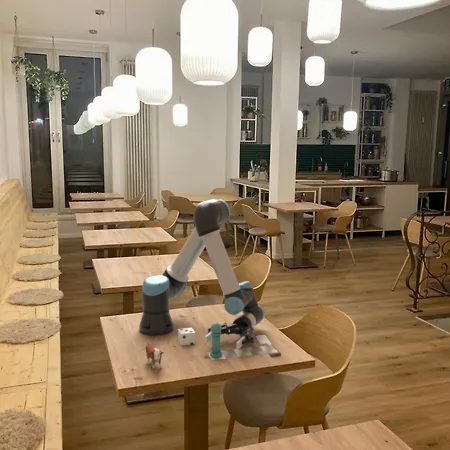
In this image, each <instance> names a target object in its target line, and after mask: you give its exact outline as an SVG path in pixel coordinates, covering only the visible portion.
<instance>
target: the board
mask: <svg viewBox="0 0 450 450" xmlns="http://www.w3.org/2000/svg"><path fill="white" fill-rule="evenodd" d="M220 351H221V352H222V356H221V357H219V358H213V357H211V356H210V352H211V351H208V352H206V353H207V355H208V356H209V357H210V360H212V361H218V360H225V359H227V360H228V359H234V358H243V357H251V356H258V355H266V354H267V355H269V357H271V358H272V357H279V356H282V355H281V353H282V352H280V351H279V350H278V349H277V348H276V347H275V345H273V344H272V345H267V344H265V345H260V346H258V345H257V346H251V347H250V346H249V347H242V348H241V347H240V348H239V349H236V348H232V349H224V350H220Z"/></svg>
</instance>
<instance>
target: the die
mask: <svg viewBox="0 0 450 450" xmlns="http://www.w3.org/2000/svg"><path fill="white" fill-rule="evenodd" d="M177 341H178V343H179V345H180V346H188V345H196V332H195V330H194V328H193V327H185V328H177Z"/></svg>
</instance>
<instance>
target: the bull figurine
mask: <svg viewBox="0 0 450 450" xmlns="http://www.w3.org/2000/svg"><path fill="white" fill-rule="evenodd" d="M145 353H146V354H145V355H146V359H147V365H151V362H152V370H155V368H156V367H155V364H159V365H158V369H159V370H162V369H163V367H162V355H163V354H164V351H161V350H160V349H159V348H158V347H156V345H154V344H152V343H150V342H148V343H147V345H145ZM150 359H151V361H150Z"/></svg>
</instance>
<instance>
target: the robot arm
mask: <svg viewBox="0 0 450 450" xmlns="http://www.w3.org/2000/svg"><path fill="white" fill-rule="evenodd" d="M231 214H232V213H231V209H230V206H229V204H228V203H227V201H225V200H223V199H221V198H212V199H209V200H205V201H202V202H199V203H198V204H197V206H196V207H195V209H194V211H193V216H192V217H193V224H194V228H193V229H192V231H191V232H190V235H189V236H188V237H187V239H186V241H185V243H184V245H182V248H181V249H180V251H179V252H178V253H177V256H176V258H175V259H174V260H173V263H172V265H167V267H166V269H165V270H164V271H163V274H162V275H160V274H159V275H158V274H157V275H153V276H149V277H148V276H147V278H145V279H144V280H143V282H142V287H141V288H142V315H141V318H140V323H139V326H138V327H139V331H140V333H142V334H144V335H148V336H162V335H165V334H168V333H171V332H173V330H174V321H173V318H172V316H171V313H170V301H172V300H174V299H175V298H178V297H179V296H180V295H182V294H183V293H184V292H185V290H186V289H187V286H188V285H187V283H188V281H189V274H190V272H191V270H192V269H193V267H194V265H195V263H196V262H197V260H198V259H199V258H200V256H201V255H202V252H203V251H204V249H206V253H207V255H208V258H209V260H210V263H211V265H212V267H213V270H214V272H215V275H216V278H217V280H218V283H219V285H220V288H221V290H222V293H223V296H224V298H225V302H224V310H225V311H226V312H227V313H228V314H229V315H232V316H234V315H235V316H236V315H238V314H239V313H241V312H242V314H240V315H239V316H238V317H236V319H234V320H233V322H232V323H230V324H228V323H227V322H223V323H220V325H221V327H222V330H221V335H225V334H227V335H237V336H238V335H239V336H240V337H241V338H240V339H238V341H236V343H235V346H236V347H235V349H240V348H241V347H243V346H245V345H247V344H248V343H250V344H254V333H255V332H254V331H255V329H254V328H255V327H256V326H257V325H258V324H260V323H261V322H262V320H263V319H264V318H265V315H266V313H265V310H264V308H263V307H262V306H261V305H259V303H258V300H257V298H256V294H255V291H254V287H253V286H252V283H251V281H249V280H248V281H247V280H246V281H242V282H238V279H237V275H236V273H235V270H234V268H233V265H232V262H231V260H230V257H229V255H228V252H227V250H226V249H227V248H226V247H225V244H224V242H223V239H222V236H221V234H220V232H221V228H222V226H223V225H224V224H226V223H227V222H228V221H229V220H230V218H231ZM211 332H212V331H211V327H208V328H207V333H206V335H205V336H204V337H205V339H204V342H205V344H208V343H209V342H211V341H212V335H211Z"/></svg>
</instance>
